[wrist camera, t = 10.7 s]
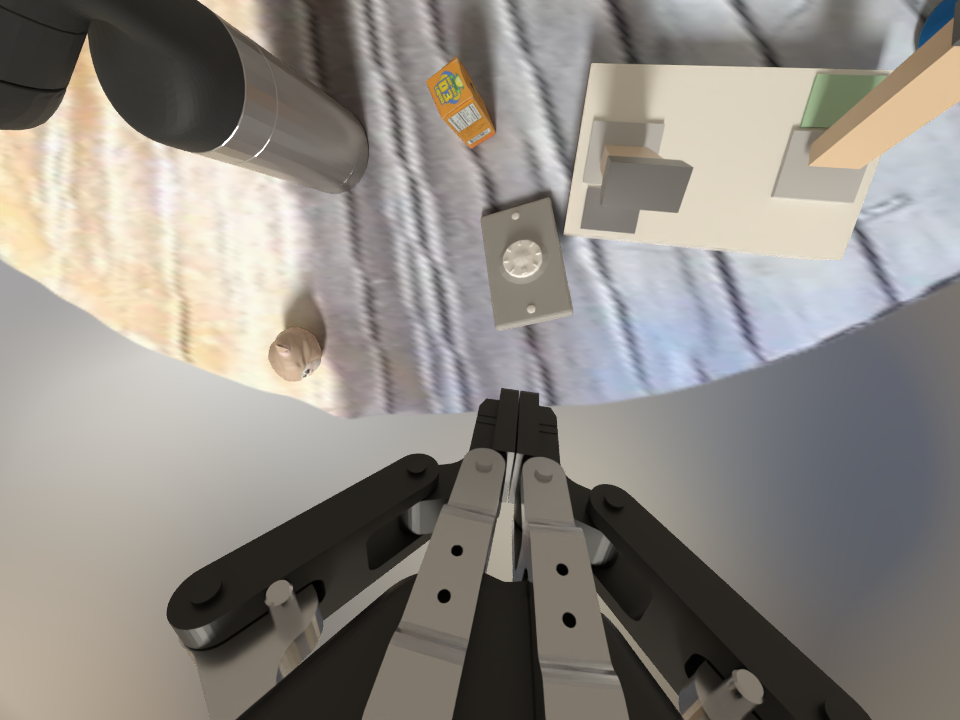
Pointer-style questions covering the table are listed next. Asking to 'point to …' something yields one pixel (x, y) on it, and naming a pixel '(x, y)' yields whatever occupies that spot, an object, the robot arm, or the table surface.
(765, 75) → the switch unit
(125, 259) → the table surface
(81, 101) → the table surface
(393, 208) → the table surface
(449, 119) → the supplement box
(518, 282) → the light switch
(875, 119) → the tan lever
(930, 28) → the beverage can
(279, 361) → the brown hamster figurine
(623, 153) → the lever charcoal
